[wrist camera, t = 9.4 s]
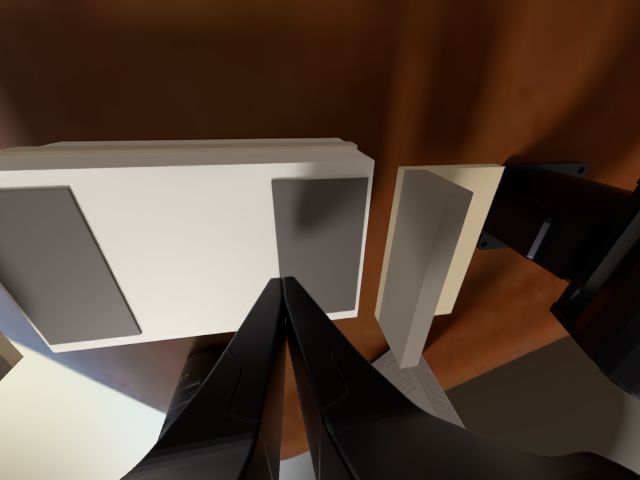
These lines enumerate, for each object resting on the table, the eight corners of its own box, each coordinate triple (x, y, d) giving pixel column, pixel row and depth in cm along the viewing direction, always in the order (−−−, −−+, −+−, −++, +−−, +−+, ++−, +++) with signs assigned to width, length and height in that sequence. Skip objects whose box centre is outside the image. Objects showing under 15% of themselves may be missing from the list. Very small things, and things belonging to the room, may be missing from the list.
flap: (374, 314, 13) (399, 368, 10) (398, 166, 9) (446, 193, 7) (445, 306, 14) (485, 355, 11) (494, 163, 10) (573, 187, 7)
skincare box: (381, 384, 28) (445, 552, 18) (354, 372, 26) (408, 554, 16) (424, 352, 26) (522, 518, 16) (398, 337, 24) (491, 516, 14)
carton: (339, 135, 14) (377, 157, 9) (334, 254, 18) (358, 318, 13) (58, 138, 12) (-101, 169, 7) (122, 272, 16) (50, 355, 11)
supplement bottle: (279, 356, 23) (284, 567, 13) (237, 395, 25) (211, 607, 15) (210, 329, 20) (143, 575, 10) (168, 376, 22) (75, 623, 12)
